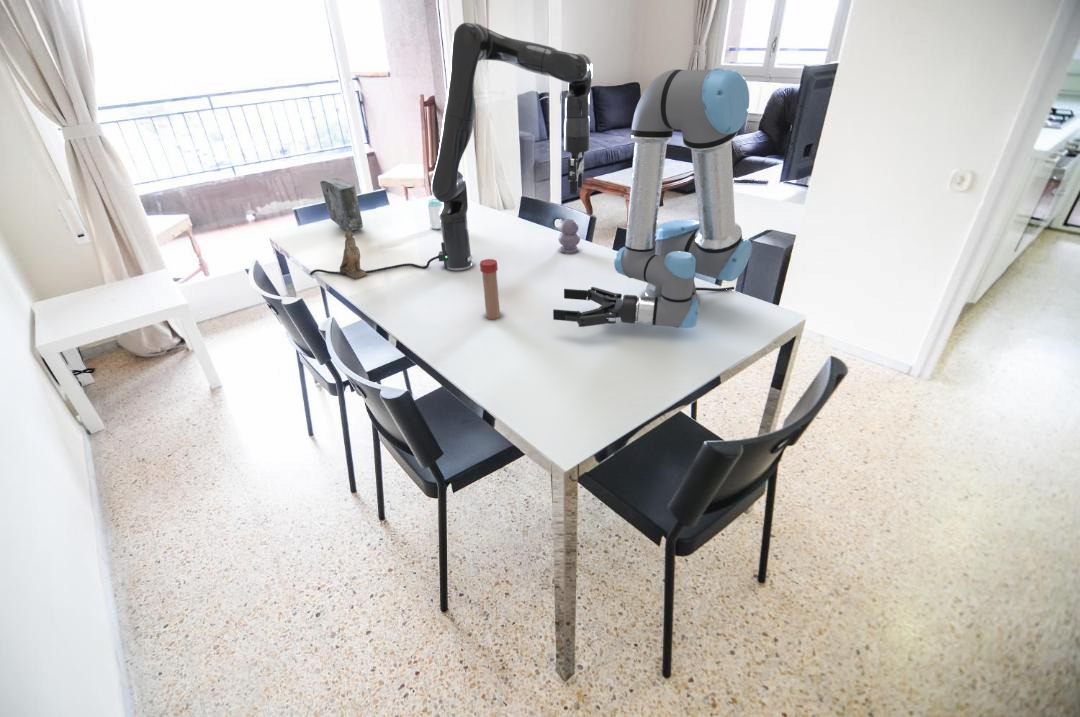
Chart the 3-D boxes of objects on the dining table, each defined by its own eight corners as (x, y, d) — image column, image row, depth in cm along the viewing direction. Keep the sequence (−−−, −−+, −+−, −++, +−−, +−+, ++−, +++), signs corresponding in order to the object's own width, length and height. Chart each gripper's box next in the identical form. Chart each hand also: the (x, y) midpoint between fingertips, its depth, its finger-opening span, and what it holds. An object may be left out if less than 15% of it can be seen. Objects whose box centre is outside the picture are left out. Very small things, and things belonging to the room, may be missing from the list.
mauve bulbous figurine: (584, 250, 191) (584, 219, 185) (571, 255, 186) (571, 223, 180) (567, 245, 196) (567, 215, 190) (554, 251, 191) (553, 220, 185)
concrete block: (368, 232, 220) (358, 186, 209) (348, 237, 216) (336, 189, 205) (349, 220, 239) (338, 176, 228) (330, 223, 234) (319, 179, 224)
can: (445, 229, 220) (441, 202, 214) (429, 230, 220) (425, 202, 214) (447, 224, 226) (444, 198, 220) (432, 225, 226) (428, 198, 220)
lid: (500, 268, 139) (500, 260, 138) (491, 274, 135) (490, 266, 134) (486, 265, 141) (485, 258, 140) (477, 271, 137) (476, 263, 136)
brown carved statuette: (368, 281, 178) (362, 235, 166) (353, 285, 175) (347, 238, 163) (352, 266, 184) (346, 221, 172) (338, 270, 181) (331, 224, 169)
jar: (502, 314, 146) (498, 262, 138) (495, 320, 143) (490, 267, 135) (491, 312, 148) (486, 260, 139) (483, 317, 145) (478, 265, 136)
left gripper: (568, 130, 152) (568, 184, 161) (559, 137, 141) (559, 195, 149) (593, 130, 151) (591, 185, 159) (585, 137, 139) (584, 196, 147)
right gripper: (631, 345, 124) (548, 337, 128) (639, 302, 144) (568, 297, 149) (633, 318, 120) (548, 311, 125) (641, 278, 140) (568, 273, 145)
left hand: (576, 190), depth 154 cm, fingers open, 8 cm apart
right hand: (558, 303), depth 137 cm, fingers open, 13 cm apart
